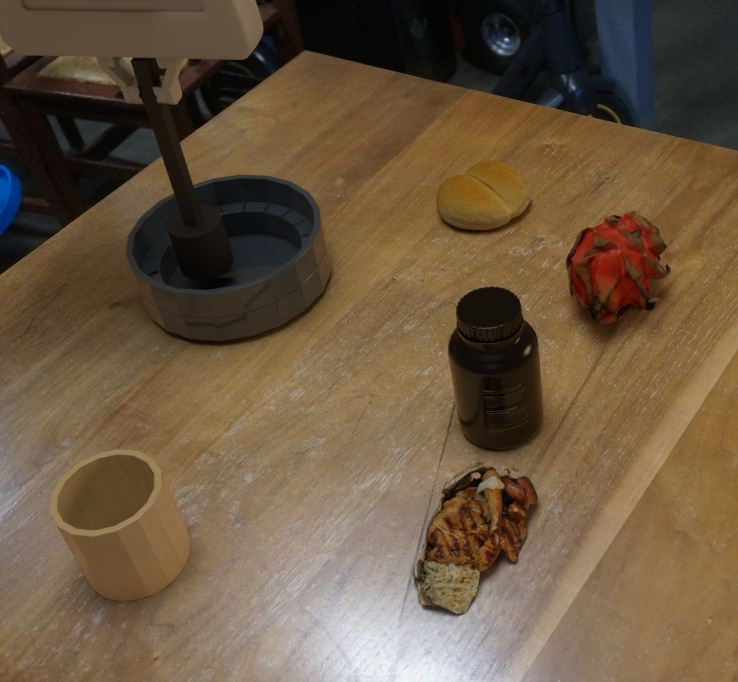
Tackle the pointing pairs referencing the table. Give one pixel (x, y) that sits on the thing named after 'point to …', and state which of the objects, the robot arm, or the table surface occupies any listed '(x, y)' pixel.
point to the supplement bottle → (495, 369)
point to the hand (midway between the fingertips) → (154, 100)
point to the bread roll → (483, 196)
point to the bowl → (235, 260)
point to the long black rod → (184, 193)
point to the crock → (121, 524)
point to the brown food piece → (471, 534)
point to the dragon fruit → (616, 266)
